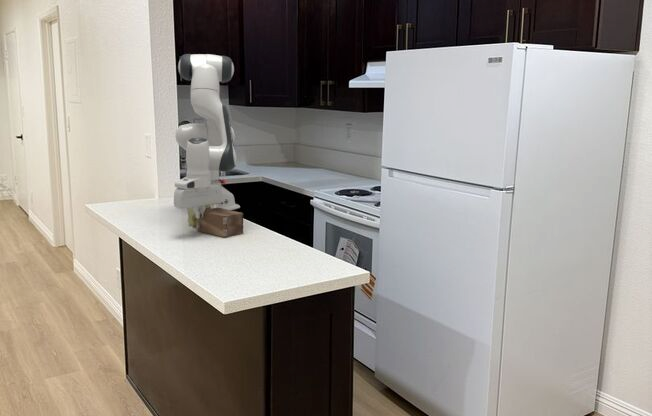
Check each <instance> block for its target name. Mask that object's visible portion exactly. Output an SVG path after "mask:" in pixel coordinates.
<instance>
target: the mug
mask: <svg viewBox="0 0 652 416" xmlns="http://www.w3.org/2000/svg"><path fill="white" fill-rule="evenodd" d="M206 209H211V206H210V205H207V206H206ZM206 209H205V210H206ZM199 210H200V208H199ZM186 211H187V222H188V225H189V226H191V227H196V220H197V218H196V213H195V212H194V210H193V208H186Z"/></svg>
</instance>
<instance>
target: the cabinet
mask: <svg viewBox="0 0 652 416" xmlns="http://www.w3.org/2000/svg"><path fill="white" fill-rule="evenodd" d="M205 211H207V212H211V213H216V214H221V215H226V217H227V224H226V229H227V236H226V237H225V238H230V237H234V236H239V235H242V234H244V213H243V212H241V211H240V212H239V211H236V210H227V209H223V208H212V209H206V210H205Z"/></svg>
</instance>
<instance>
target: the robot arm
mask: <svg viewBox="0 0 652 416" xmlns="http://www.w3.org/2000/svg"><path fill="white" fill-rule="evenodd" d="M177 69H178V73H179V76H180V77H181V78H182V79H183V80H186V81H191V83H190V104H191V106H192V108H193V111H194V113H195V114H197V115H198V116H199V117H202V118H203V119H206V122H205V123H200V122H199V123H186V124H182V125H179V126H178V128H177V129H176V132H175V140H176V143H177V144H178V145H179V147H180V148H182V149H183V150H185V164H186V167H187V168H186V169H187V170H186V173H185V174H186V175H185V176H184V177H183V178H181V179H179V180H176V181H175V182H174V187H175V188H176V189H174V192H173V205H174V207H175V209H179V210H184V209H186V210H187V208H193V210H194V212H195V213H196V218H203V213H204V211H205V209H206V206H207V205H210V206H211V209H212V208H223V209H227V210H232V211H235V210H238V209H240V208H241V206H240V205H239V204H238V203H236V201H235V200H236V199H235V196H234V194H233V193H232V192H230V191H229V190H228V189H226V188H225V187H224V186H223V185H227V183H228V181H227V179H225V178H224V179H221V178H220V172H224V173H230V172H231V171H233V170H234V169H235V168H236V166H237V160H238V159H237V158H238V157H237V152H236V150H235V146H234V142H235V138H236V135H235V131H234V128H233V126H231V121H230V116H229V111H228V108H227V106H226V105H225V104H223V103H222V100H221V98H220V97H221V96H220V82H221V83H222V84H224V83H228V82H230V81H231V80H232V77H233V75H234V72H235V66H234V63H233V60H232V59H231V57H229V56H226V55H216V54H212V53H211V54H209V53H206V54H202V53H201V54H200V53H198V54H196V53H195V54H194V53H193V54H191V53H185V54H183V55H181V56H180V59H179V61H178V65H177ZM199 208H200V211H198V210H199Z"/></svg>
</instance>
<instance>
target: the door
mask: <svg viewBox="0 0 652 416" xmlns="http://www.w3.org/2000/svg"><path fill="white" fill-rule="evenodd" d="M198 211H200V210H198ZM226 224H227V217H226V215H221V214H216V213H211V212H207V211H204V213H203V218H197V220H196V226H195V227H196V230H197V232H201V233H206V234H209V235H214V236H219V237H223V238H227V237H226V236H227V229H226Z"/></svg>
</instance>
